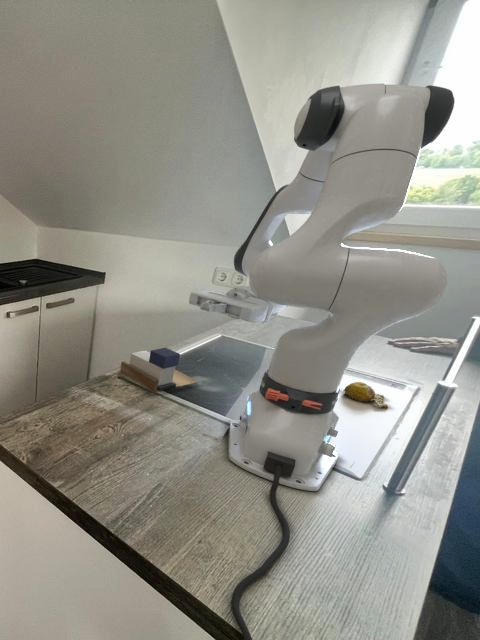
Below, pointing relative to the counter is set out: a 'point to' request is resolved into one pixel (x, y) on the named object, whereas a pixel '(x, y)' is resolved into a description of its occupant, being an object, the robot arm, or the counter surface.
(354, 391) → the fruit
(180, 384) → the shoe shelf
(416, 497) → the counter surface
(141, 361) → the white block blue cap
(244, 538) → the counter surface
